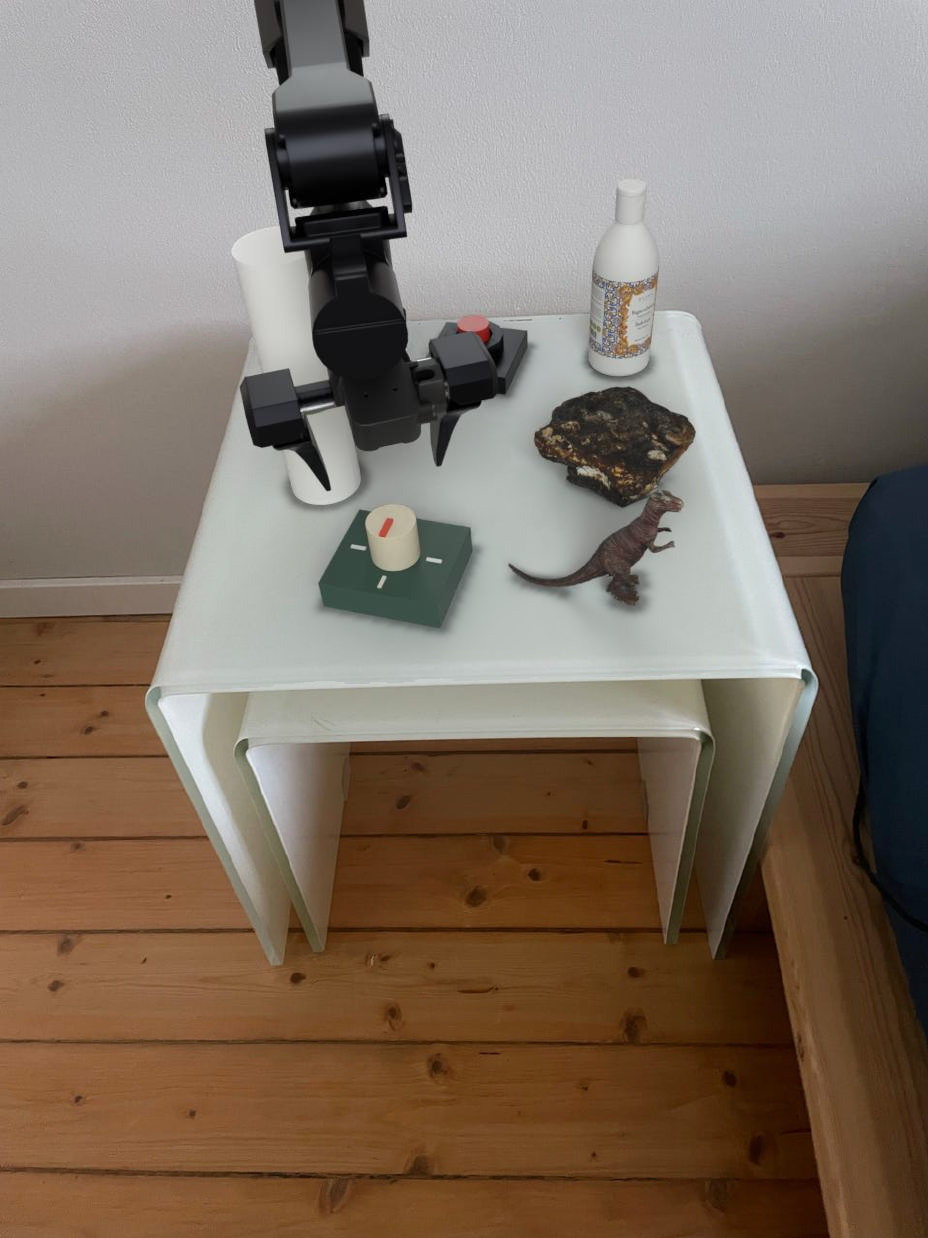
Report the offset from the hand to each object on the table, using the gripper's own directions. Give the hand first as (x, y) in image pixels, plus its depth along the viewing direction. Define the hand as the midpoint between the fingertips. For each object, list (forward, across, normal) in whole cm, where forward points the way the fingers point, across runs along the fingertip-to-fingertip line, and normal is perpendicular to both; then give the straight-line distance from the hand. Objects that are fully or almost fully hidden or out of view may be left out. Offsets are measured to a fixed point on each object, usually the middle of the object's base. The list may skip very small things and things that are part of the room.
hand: (383, 475), depth 75 cm
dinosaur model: (+12, +16, -7) cm, 21 cm away
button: (+8, +16, +31) cm, 36 cm away
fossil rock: (+12, +24, +8) cm, 28 cm away
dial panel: (+12, 0, 0) cm, 12 cm away
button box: (+12, +16, +31) cm, 37 cm away
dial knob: (+9, 0, 0) cm, 9 cm away
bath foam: (+12, +32, +26) cm, 43 cm away
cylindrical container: (+12, -4, +16) cm, 21 cm away
